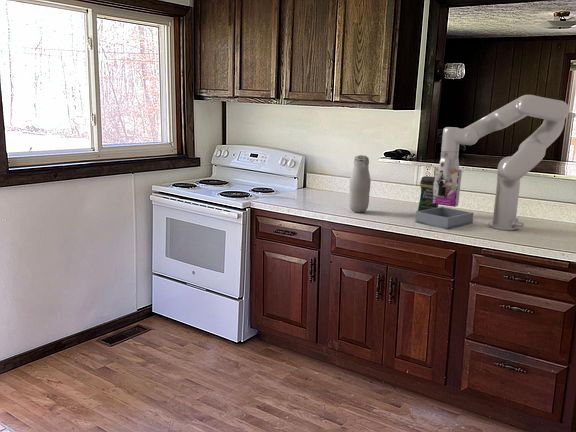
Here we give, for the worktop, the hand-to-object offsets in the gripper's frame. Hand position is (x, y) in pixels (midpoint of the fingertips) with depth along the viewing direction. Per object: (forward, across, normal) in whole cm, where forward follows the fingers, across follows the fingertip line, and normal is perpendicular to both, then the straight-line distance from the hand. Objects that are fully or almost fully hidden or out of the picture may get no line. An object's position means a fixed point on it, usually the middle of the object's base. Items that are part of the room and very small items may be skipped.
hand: (445, 194), depth 251 cm
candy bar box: (+5, 0, 0) cm, 5 cm away
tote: (+13, 0, 0) cm, 13 cm away
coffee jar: (+13, +10, +16) cm, 23 cm away
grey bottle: (+14, -15, +39) cm, 44 cm away
